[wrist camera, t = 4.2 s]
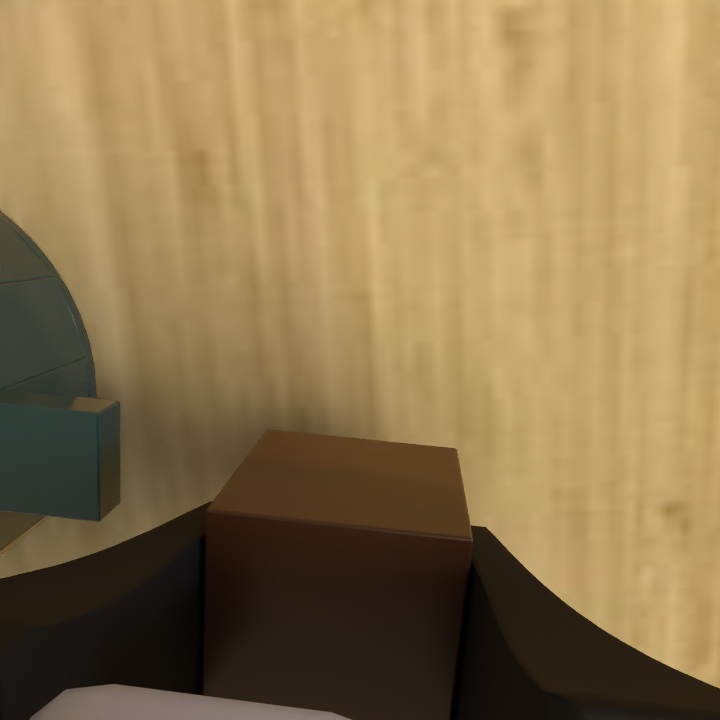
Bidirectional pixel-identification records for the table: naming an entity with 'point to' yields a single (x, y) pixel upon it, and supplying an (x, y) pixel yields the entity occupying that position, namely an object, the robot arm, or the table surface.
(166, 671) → the robot arm
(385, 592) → the block
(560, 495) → the table surface
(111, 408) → the pot
